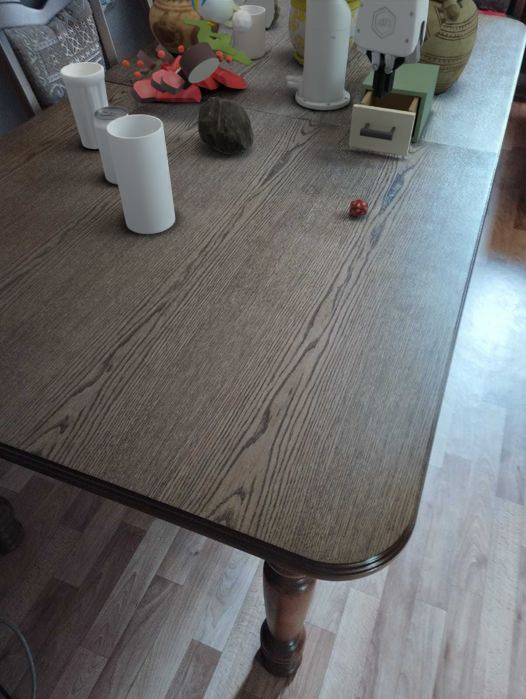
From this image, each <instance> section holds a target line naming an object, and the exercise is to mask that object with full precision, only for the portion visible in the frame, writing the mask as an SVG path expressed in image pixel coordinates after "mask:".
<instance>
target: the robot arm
mask: <svg viewBox="0 0 526 699" xmlns="http://www.w3.org/2000/svg"><path fill="white" fill-rule="evenodd" d="M428 5H429V0H360V4H359V9H358V14H357V20H356V27H355V35H354V41H355V42H354V44H355V45H356V47H355V49H356V51H357V52H359V53H361V54H363V55H364V56H366V57H367V60H368V61H369V62H370V64H371V70H372V69H373V70H374V77H373V84H372V88H373V89H374V90H373V97H379V98H381V99H382V98H384V97H385V96H387V95H388V94H389V93H390V92H391V91H392V89H393V83H394V77H395V71H396V69H398V68H399V67H400V66H401V65H403V64H414V63H416V62H418V61H419V60H420V48H421V47H422V44H423V41H424V36H425V31H426V24H427V16H428ZM350 27H351V11H350V7H349V5H348V4H347V2H346V0H306V29H305V49H304V65H303V71H302V73H303V75H299V76H295V75H290V74H289V75H286V76H285V77H286V78H285V84H286V85H287V88H290V89H296V90H297V91H296V92H295V97H294V98H295V101H296V103H297V104H298V105H300V106H302V107H304V108H307V109H311V110H317V111H332V110H338V109H341V108H344V107H346V106H348V104H349V103H350V101H351V94H350V92H349V91H348V90H346V89H345V85H346V76H347V75H346V74H347V65H348V59H347V57H348V54H349V52H348V47H349V37H350ZM387 55H388V57H387ZM386 59H387V63H386Z"/></svg>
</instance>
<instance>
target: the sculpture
mask: <svg viewBox="0 0 526 699" xmlns="http://www.w3.org/2000/svg"><path fill="white" fill-rule="evenodd" d="M244 5H254V6H260V7H263V8H265V30H270V29H271V28H273V27H274V26H275V25H276V23H277V22H278V20H279V18H280V16H281V6H280V2H279V0H244V1H243V3H242V5H241V6H244Z"/></svg>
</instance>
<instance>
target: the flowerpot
mask: <svg viewBox="0 0 526 699" xmlns="http://www.w3.org/2000/svg"><path fill="white" fill-rule="evenodd" d="M346 2H347V4H348V5H349V7H350V11H351V27H350V37H349V47H348V57H347V60H348V59H349V58H350V54H349V52H350V51H351V49H352V48H353V46H354V44H355V41H354V35H355V27H356V20H357V14H358V9H359V4H360V0H346ZM289 4H290V9H289V16H288V34H289V35H288V36H289V39H290V43H291V45H292V47H293V48H294V50H295V52H294V55H293V56H294V57H295V59H296V60H297V62H298V63H299V64H300V65H302V66H304V49H305V29H306V0H289Z"/></svg>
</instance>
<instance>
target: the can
mask: <svg viewBox="0 0 526 699" xmlns="http://www.w3.org/2000/svg"><path fill="white" fill-rule="evenodd" d="M128 115H129V114H128V109H127V108H126V107H124V106H120V105H108V106H106V107H102V108H99V109H98V110H96V111H95V112H94V116H95V119H94V128H95V133H96V137H97V142H98V146H99V149H98V150H99V151H98V152H99V155H100V159H101V163H102V168H103V172H104V176H105V179H106V181H107V182H109V183H111V184H113V185H117V186H118V182H117V177H116V173H115V168H114V163H113V158H112V153H111V148H110V144H109V139H108V134H107V126H108V124H109V123H110V122H112V121H113V120H115V119H117V118H120V117H124V116H128Z"/></svg>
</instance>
